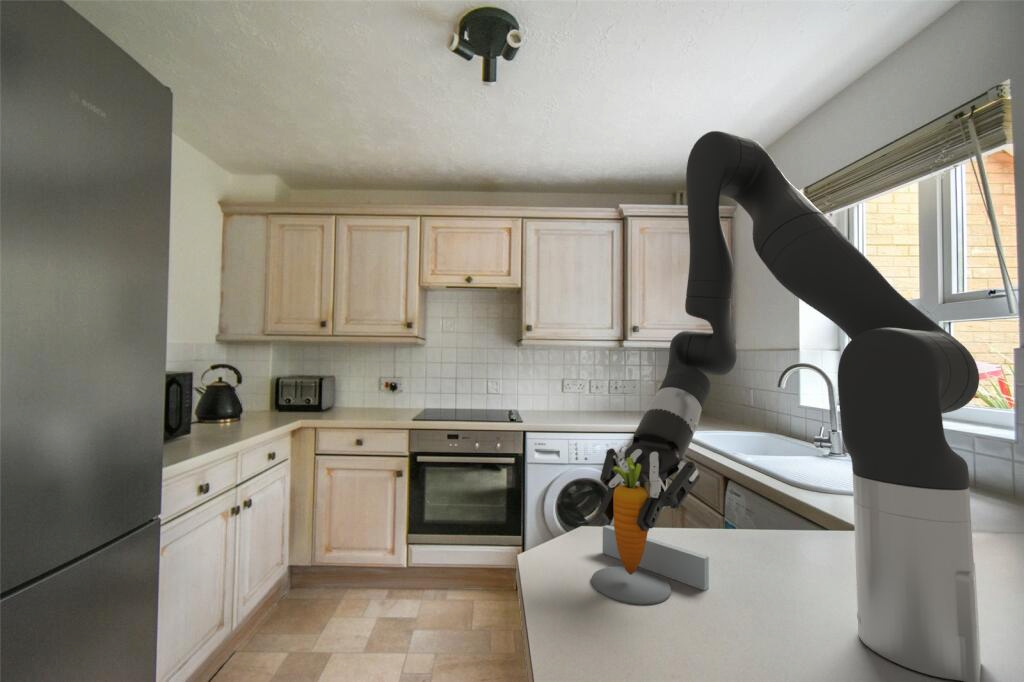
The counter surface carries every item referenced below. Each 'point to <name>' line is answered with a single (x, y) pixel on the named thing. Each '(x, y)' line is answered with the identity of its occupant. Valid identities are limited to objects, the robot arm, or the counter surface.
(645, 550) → the low wall
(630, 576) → the rest mat
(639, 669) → the counter surface
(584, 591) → the counter surface
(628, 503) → the carrot
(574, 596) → the counter surface
